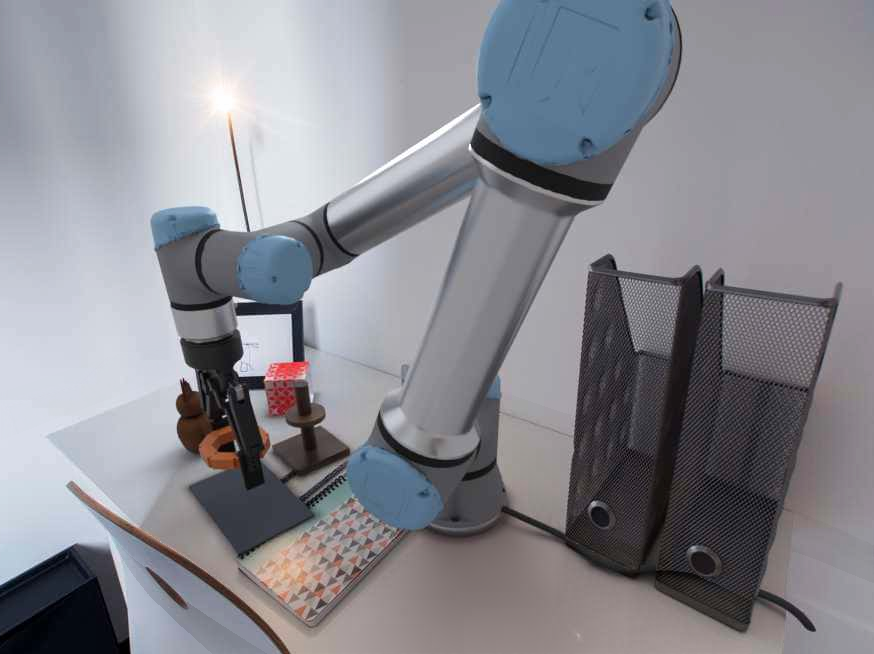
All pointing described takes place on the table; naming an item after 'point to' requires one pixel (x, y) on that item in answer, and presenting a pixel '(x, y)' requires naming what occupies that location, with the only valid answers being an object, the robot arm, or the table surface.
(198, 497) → the mat
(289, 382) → the red patterned cube
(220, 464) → the ring
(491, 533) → the table surface
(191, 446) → the wooden figurine
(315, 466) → the ring stand
